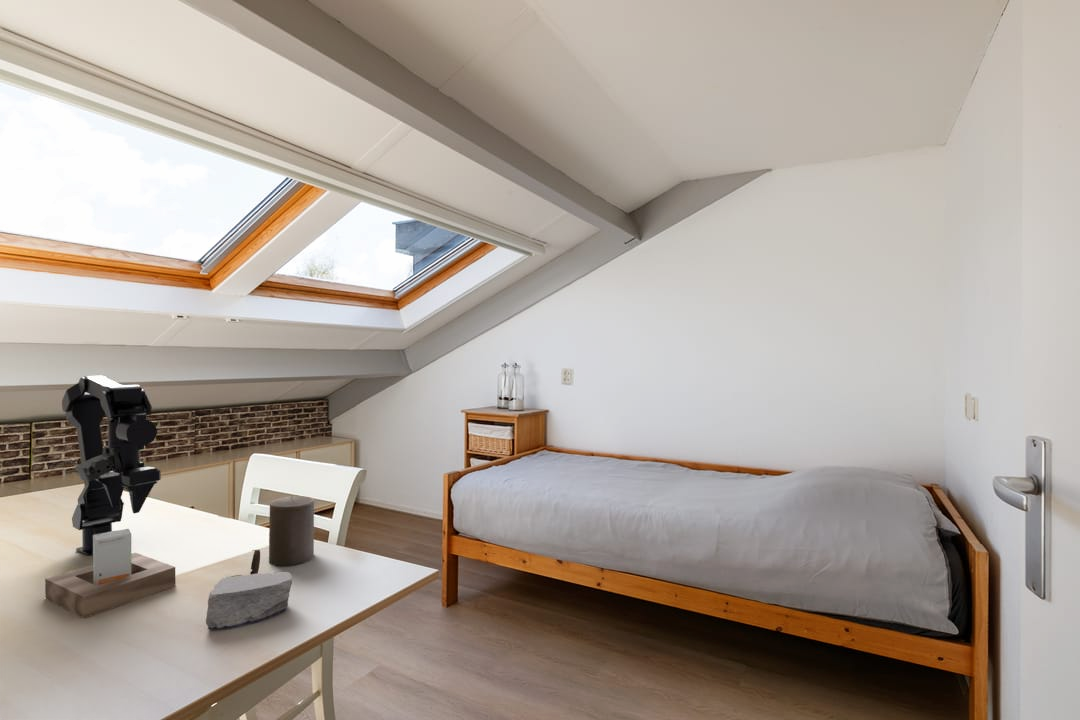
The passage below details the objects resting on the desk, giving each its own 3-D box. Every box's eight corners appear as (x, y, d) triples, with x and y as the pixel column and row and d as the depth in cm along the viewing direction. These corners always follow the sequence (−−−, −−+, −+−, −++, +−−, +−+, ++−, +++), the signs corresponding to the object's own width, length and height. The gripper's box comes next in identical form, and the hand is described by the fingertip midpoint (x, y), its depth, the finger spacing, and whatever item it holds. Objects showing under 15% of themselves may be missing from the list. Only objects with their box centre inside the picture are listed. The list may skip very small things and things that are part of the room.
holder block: (45, 598, 111) (45, 578, 111) (135, 570, 125) (135, 552, 125) (84, 618, 104) (83, 596, 103) (175, 585, 118) (175, 566, 117)
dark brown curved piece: (220, 582, 120) (220, 548, 119) (261, 577, 122) (261, 544, 122) (211, 599, 112) (211, 562, 112) (255, 593, 114) (255, 558, 114)
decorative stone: (197, 621, 104) (211, 640, 96) (197, 583, 104) (210, 599, 96) (280, 597, 114) (299, 613, 106) (280, 563, 114) (298, 576, 106)
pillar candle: (276, 570, 126) (276, 503, 126) (263, 557, 133) (264, 494, 133) (320, 559, 132) (320, 496, 132) (305, 548, 140) (306, 488, 139)
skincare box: (95, 599, 111) (93, 540, 111) (93, 592, 114) (91, 534, 114) (132, 590, 115) (131, 533, 115) (129, 584, 118) (128, 527, 118)
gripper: (60, 442, 124) (62, 512, 124) (102, 451, 115) (104, 526, 115) (118, 435, 134) (119, 500, 134) (161, 442, 125) (162, 512, 125)
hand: (125, 509), depth 127 cm, fingers open, 9 cm apart
